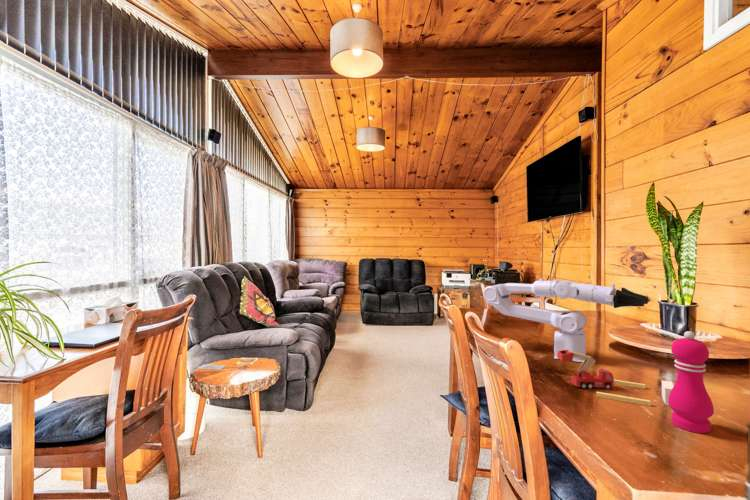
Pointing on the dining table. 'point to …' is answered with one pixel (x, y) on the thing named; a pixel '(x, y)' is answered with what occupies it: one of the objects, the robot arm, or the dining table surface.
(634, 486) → the dining table surface
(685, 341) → the pepper mill
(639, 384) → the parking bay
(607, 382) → the toy fire truck
